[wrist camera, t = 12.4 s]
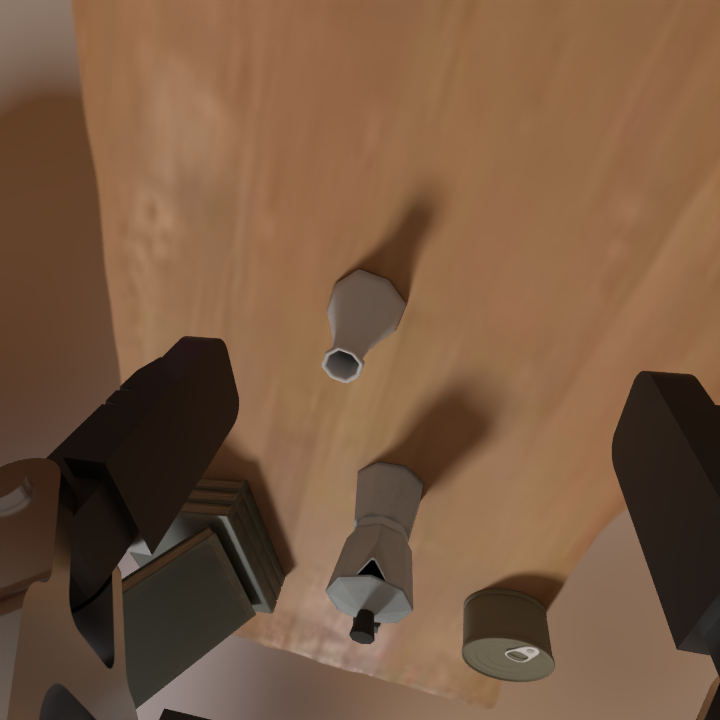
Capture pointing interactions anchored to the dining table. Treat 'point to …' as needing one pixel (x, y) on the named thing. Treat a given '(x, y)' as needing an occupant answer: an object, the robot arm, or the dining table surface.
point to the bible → (197, 585)
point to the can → (506, 636)
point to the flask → (359, 321)
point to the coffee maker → (378, 551)
